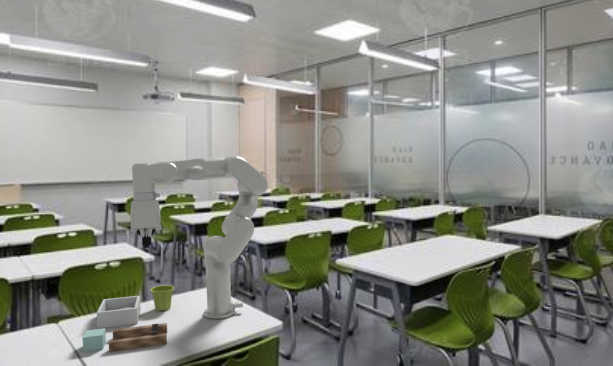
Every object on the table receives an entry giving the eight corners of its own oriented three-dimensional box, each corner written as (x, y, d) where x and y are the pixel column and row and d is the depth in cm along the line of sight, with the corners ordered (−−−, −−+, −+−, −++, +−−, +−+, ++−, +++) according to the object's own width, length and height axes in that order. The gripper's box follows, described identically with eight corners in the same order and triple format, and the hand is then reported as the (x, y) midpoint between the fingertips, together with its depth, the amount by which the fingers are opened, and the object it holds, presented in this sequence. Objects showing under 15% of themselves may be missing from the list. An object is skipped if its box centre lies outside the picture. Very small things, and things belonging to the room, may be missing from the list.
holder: (140, 309, 178) (140, 295, 177) (137, 323, 162) (136, 308, 162) (104, 313, 174) (103, 299, 173) (97, 328, 158) (96, 312, 158)
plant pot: (164, 303, 185) (163, 284, 184) (179, 307, 180) (178, 287, 180) (146, 310, 177) (145, 289, 176) (161, 314, 172) (161, 293, 172)
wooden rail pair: (167, 330, 155) (166, 320, 155) (166, 344, 144) (166, 332, 144) (113, 337, 150) (113, 326, 149) (109, 352, 139) (108, 340, 138)
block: (105, 342, 147) (105, 328, 146) (103, 349, 141) (102, 335, 141) (86, 344, 145) (86, 330, 145) (83, 352, 139) (82, 337, 139)
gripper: (166, 195, 159) (168, 243, 160) (123, 197, 154) (125, 247, 156) (166, 197, 152) (168, 247, 153) (121, 199, 147) (123, 251, 148)
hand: (146, 247), depth 154 cm, fingers closed
